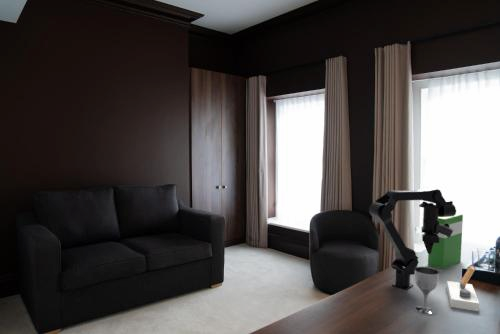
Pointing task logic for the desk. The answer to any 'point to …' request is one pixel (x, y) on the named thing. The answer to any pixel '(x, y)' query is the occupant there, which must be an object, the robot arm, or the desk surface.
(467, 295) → the push button
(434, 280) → the wine glass
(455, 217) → the cereal box
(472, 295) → the switch panel
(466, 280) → the paddle lever
